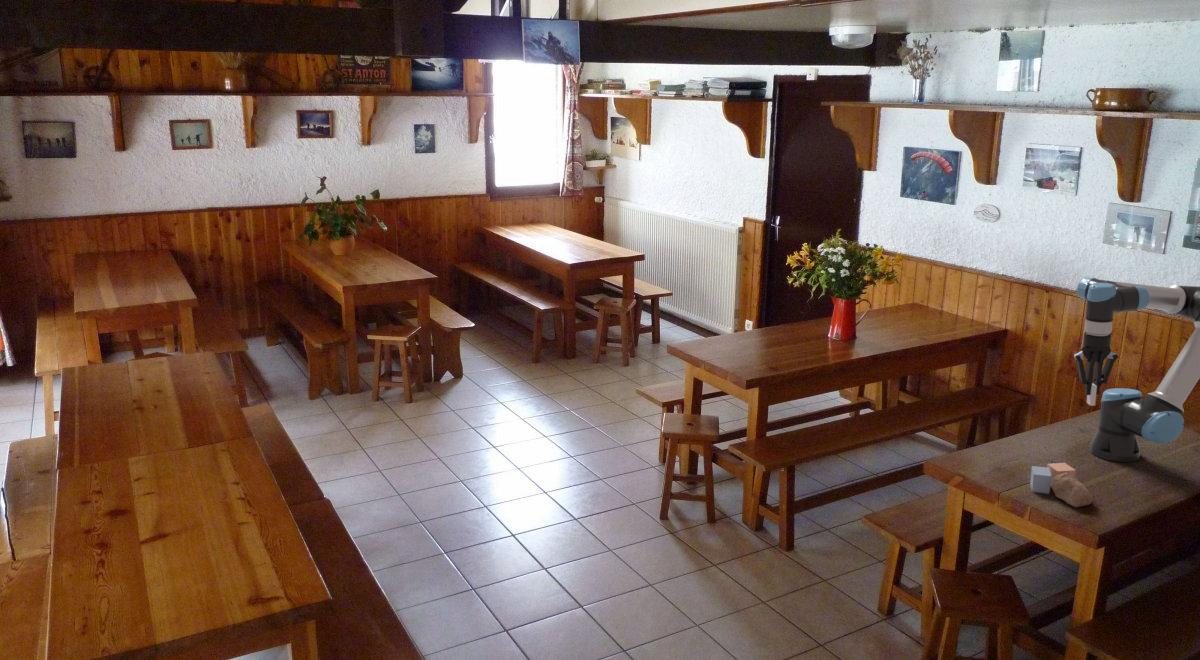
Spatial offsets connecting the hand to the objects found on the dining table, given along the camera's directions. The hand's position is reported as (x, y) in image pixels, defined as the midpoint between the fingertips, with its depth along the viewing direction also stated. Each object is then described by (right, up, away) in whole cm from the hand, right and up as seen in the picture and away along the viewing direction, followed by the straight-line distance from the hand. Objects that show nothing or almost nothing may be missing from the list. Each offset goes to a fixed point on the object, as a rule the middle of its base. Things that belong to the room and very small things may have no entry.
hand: (1090, 404), depth 295 cm
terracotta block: (-9, -26, +3) cm, 28 cm away
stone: (-10, -29, -9) cm, 32 cm away
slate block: (-16, -27, 0) cm, 32 cm away
